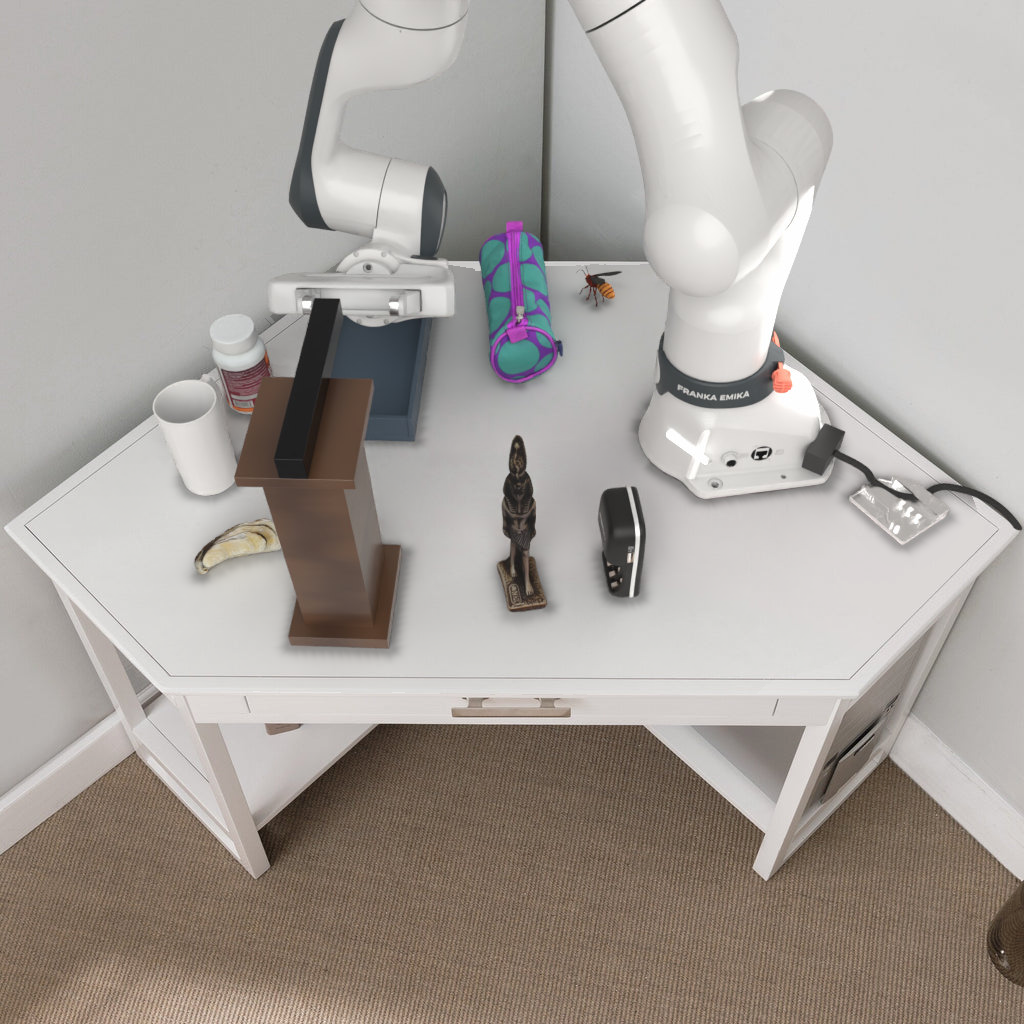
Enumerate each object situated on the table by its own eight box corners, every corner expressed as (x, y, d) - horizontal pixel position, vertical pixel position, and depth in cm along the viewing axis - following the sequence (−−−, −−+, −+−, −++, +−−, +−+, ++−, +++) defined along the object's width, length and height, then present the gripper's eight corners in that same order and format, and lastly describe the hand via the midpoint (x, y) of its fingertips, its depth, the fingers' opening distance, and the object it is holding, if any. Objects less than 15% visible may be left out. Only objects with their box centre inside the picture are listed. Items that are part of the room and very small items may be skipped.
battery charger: (593, 549, 115) (597, 480, 106) (628, 546, 115) (635, 477, 106) (603, 603, 111) (608, 535, 102) (639, 599, 111) (648, 532, 102)
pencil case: (562, 385, 131) (564, 325, 124) (490, 391, 131) (487, 331, 123) (544, 277, 144) (544, 217, 137) (478, 282, 144) (475, 222, 136)
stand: (402, 553, 115) (372, 378, 95) (388, 648, 108) (353, 480, 87) (310, 551, 116) (262, 376, 96) (290, 645, 108) (233, 477, 88)
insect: (595, 291, 143) (590, 257, 140) (626, 305, 139) (623, 271, 136) (573, 303, 142) (569, 270, 138) (605, 318, 138) (601, 284, 134)
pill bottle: (288, 398, 131) (270, 327, 122) (246, 424, 128) (225, 354, 119) (258, 373, 133) (238, 303, 125) (217, 398, 131) (194, 328, 122)
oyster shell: (235, 589, 118) (298, 529, 116) (228, 602, 114) (293, 540, 113) (193, 553, 116) (257, 491, 115) (186, 565, 113) (251, 501, 111)
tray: (434, 301, 141) (432, 279, 138) (414, 441, 126) (411, 419, 123) (335, 300, 142) (331, 277, 139) (303, 439, 126) (297, 416, 123)
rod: (343, 318, 100) (340, 298, 98) (307, 479, 88) (302, 459, 86) (318, 317, 100) (314, 297, 98) (279, 478, 88) (273, 459, 86)
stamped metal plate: (946, 517, 117) (950, 508, 116) (901, 546, 115) (905, 537, 113) (892, 472, 121) (895, 463, 120) (848, 499, 119) (851, 491, 118)
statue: (508, 618, 110) (503, 493, 94) (494, 564, 114) (486, 436, 99) (548, 610, 110) (549, 484, 95) (532, 557, 115) (530, 428, 99)
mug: (227, 502, 120) (201, 428, 111) (172, 493, 121) (141, 419, 112) (259, 438, 126) (237, 363, 117) (206, 430, 127) (180, 355, 118)
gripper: (281, 256, 121) (246, 274, 108) (461, 258, 120) (448, 277, 107) (285, 312, 123) (252, 336, 110) (462, 315, 122) (449, 339, 109)
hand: (350, 307), depth 109 cm, fingers open, 8 cm apart
